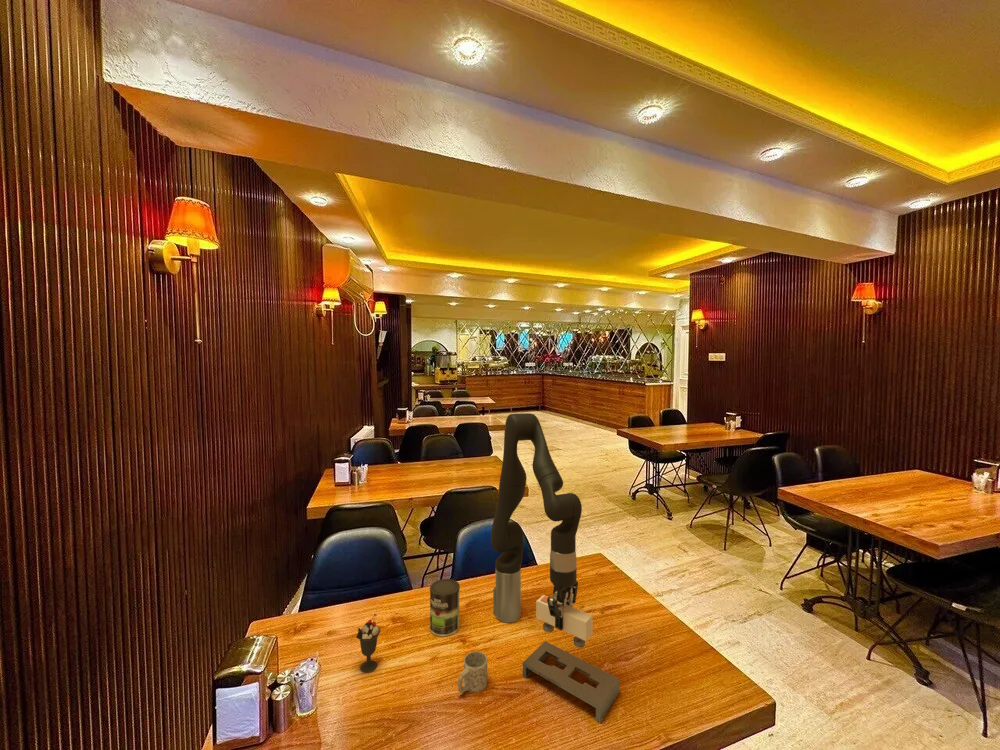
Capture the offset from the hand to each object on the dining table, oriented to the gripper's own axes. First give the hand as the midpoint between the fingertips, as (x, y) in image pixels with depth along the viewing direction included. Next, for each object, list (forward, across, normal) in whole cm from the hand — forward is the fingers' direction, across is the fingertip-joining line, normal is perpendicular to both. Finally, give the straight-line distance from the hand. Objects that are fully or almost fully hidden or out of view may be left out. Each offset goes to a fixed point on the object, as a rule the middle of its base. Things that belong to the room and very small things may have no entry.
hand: (563, 624), depth 111 cm
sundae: (+16, +32, -48) cm, 60 cm away
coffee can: (+16, +5, -44) cm, 47 cm away
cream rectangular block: (+3, 0, 0) cm, 3 cm away
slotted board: (+16, 0, +2) cm, 16 cm away
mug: (+16, +18, -19) cm, 31 cm away
